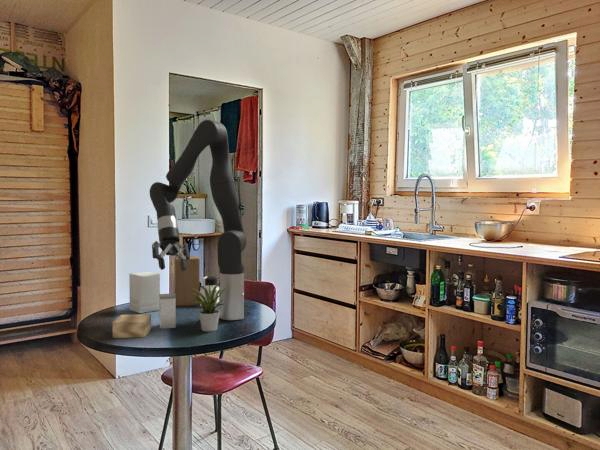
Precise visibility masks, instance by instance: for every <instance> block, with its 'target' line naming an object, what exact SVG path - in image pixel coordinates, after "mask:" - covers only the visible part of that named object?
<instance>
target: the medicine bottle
mask: <svg viewBox="0 0 600 450" xmlns="http://www.w3.org/2000/svg"><path fill="white" fill-rule="evenodd" d="M208 284H209V285H208ZM217 284H218V278H217V277H216V276H211V275H207V276H204V277H202V286H203V287H205V288H206V289H207V291H208V293H209V286H210V290H211V293H212V290H213V288H214V286H215V285H217ZM218 287H219V286H218V285H217V288H218ZM217 288H216V290H215V291H216V292H215V293H214V294H215V295H214V298H215V297H216V294H217V292H218V290H219V288H218V289H217ZM200 293H201V294H202V295H203V296H204V297H205V298H206V295H205V291H204V290H203V289H202V287H200ZM218 295H219V294H218ZM200 298H201V299H202V297H201V296H200ZM214 298H213V300H214ZM206 300H207V298H206ZM202 301H204V300H203V299H202ZM218 302H219V297H218V299H217V301H216V303H215V304H217V303H218ZM199 306H201V307H202V305H201V304H199ZM215 306H216V305H215ZM215 306H214V307H215Z"/></svg>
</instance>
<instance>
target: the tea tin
mask: <svg viewBox="0 0 600 450" xmlns="http://www.w3.org/2000/svg"><path fill="white" fill-rule="evenodd" d="M176 307H177V306H176V295H175V294H174V292H173V293H160V294H159V310H158V311H159V313H158V314H159V316H158V318H159V320H158V321H159V325H158V326H159V328H160V329H161V330H163V329H172V328H173V329H174V328H176V318H177V317H176Z"/></svg>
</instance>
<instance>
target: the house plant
mask: <svg viewBox="0 0 600 450" xmlns="http://www.w3.org/2000/svg"><path fill="white" fill-rule="evenodd" d="M208 285H209V284H208ZM217 287H218V288H219V283H217V285H215V286H214V288H213V290H212V293H211V290H210V286H209V293H208V291H207V289H206V288H205V287H203V285H200V288H202V289H203V290H204V291H205V295H206V298H207V300H206V298H205V297H204V296H203V295H202V294H201V293H200V292H199V291H197V290H196V289H195V290H196V291H197V292H198V293H199V295H200V296H201V297H202V299H203V300H204V301H202V299H201V298H200V297H198V296H197V295H196V294H194V293H192V294H193V295H194V297H195V298H196V299H197V300H196V301H197V302H196V303H200V304H201V305H202V306H200V304H199V305H197V308H200V307H201V308H202V310H201V309H200V311H199V310H198V313H199V314H198V315H199V321H200V327H201V331H202V332H214V331H217V329H218V326H219V325H218V324H219V319H220V318H219V314H220V311H219V309H216V308H218V307H219V305H225V304H219V303H220V302H223V300H222V301H220V302H218V303H217V304H215V303H216V301H217V299H218V297H219V296H220V295H221V294H222V293H223V292H224V290H225V289H227V288H229V287H227V288H225V289H223V290H222V291H221V293H220V290H221V289H222V288H221V289H219V290H218V292H217V294H216V297H215V298H214V295H215V294H214V293H215V292H216V291H215V290H216V288H217ZM218 288H217V289H218ZM193 289H194V288H193ZM219 293H220V294H219ZM218 294H219V295H218ZM213 298H214V300H213ZM194 302H195V301H194ZM225 302H226V301H225ZM215 305H216V306H215Z"/></svg>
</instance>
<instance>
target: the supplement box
mask: <svg viewBox="0 0 600 450" xmlns="http://www.w3.org/2000/svg"><path fill="white" fill-rule="evenodd" d="M128 275H129V276H128V277H129V279H128V280H129V283H128V284H129V311H131V310H132V311H131V312H134V311H135V313H137V312H138V314H145V312H146V313H150V312H151V313H152V312H157V311H159V294H161V283H160V282H161V274H160V273H157V272H153V271H148V270H147V271H141V272H140V271H139V272H138V271H137V272H130V273H129V274H128Z"/></svg>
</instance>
